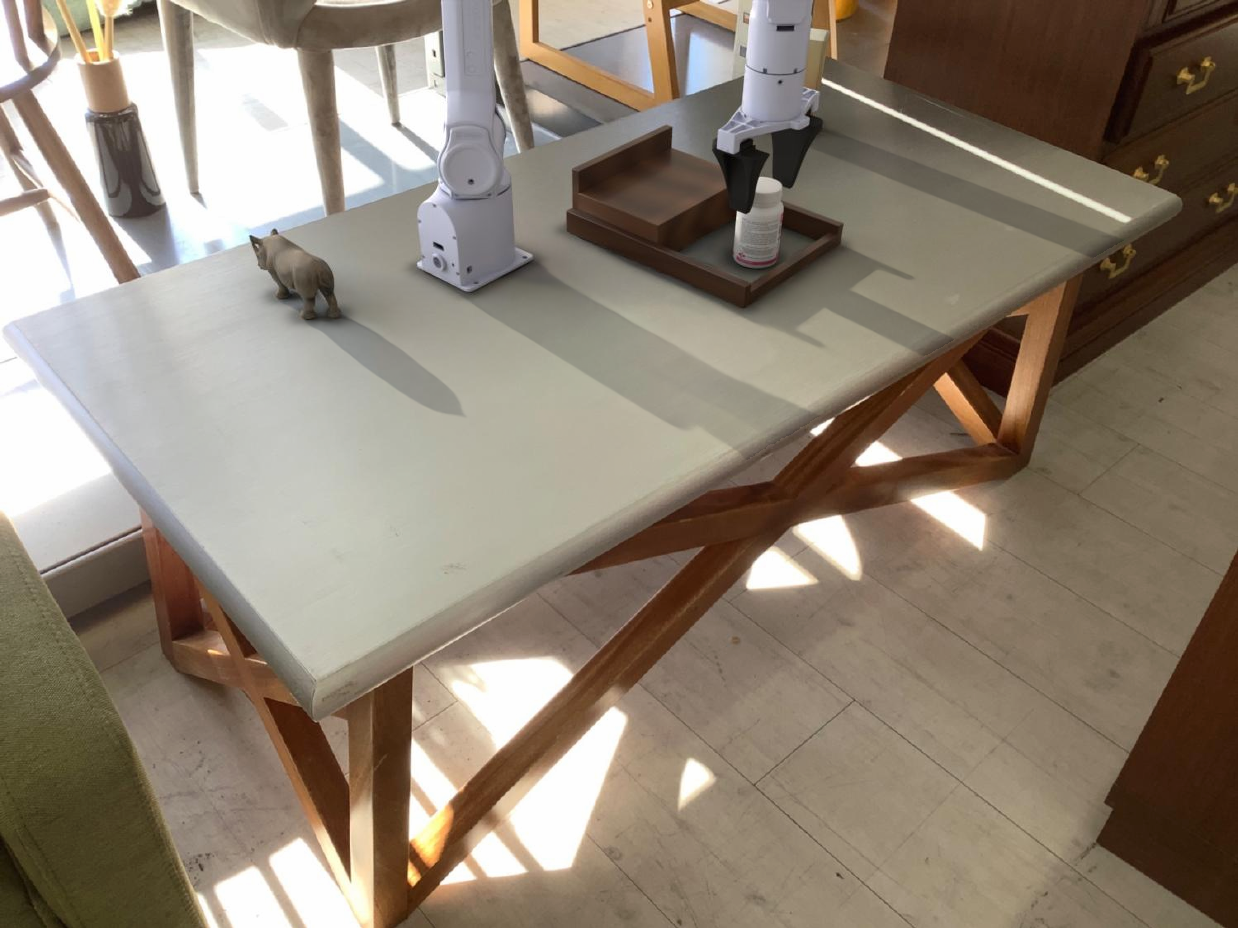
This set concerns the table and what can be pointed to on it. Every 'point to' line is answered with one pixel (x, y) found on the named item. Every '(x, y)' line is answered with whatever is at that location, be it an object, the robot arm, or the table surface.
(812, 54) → the cosmetic box
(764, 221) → the pill bottle
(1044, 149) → the table surface
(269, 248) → the rhino figurine
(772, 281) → the step rack
